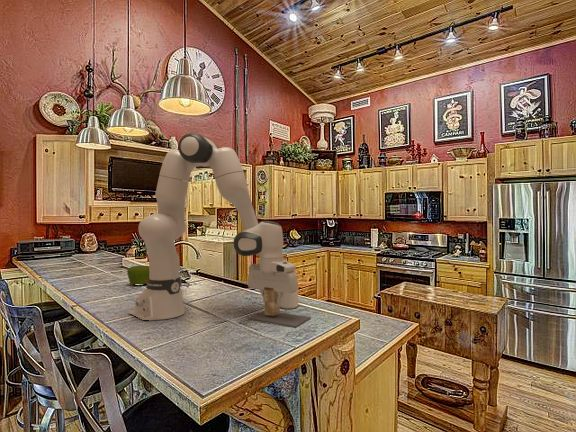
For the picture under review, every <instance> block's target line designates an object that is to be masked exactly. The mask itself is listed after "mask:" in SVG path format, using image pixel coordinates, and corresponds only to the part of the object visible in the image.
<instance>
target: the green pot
mask: <svg viewBox="0 0 576 432" xmlns="http://www.w3.org/2000/svg"><path fill="white" fill-rule="evenodd" d="M126 274H127V277H128V282H129V284H131V285H133V284H147V283H145V282H148V281H145V280H148V279H149V265H134V266H130V267H129V268H128V269H127V272H126Z"/></svg>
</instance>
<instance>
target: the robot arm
mask: <svg viewBox="0 0 576 432" xmlns="http://www.w3.org/2000/svg"><path fill="white" fill-rule="evenodd" d="M177 145H178V146H177V149H173V150H172V149H171V150H169V151H168V152H167V153H166V155H165V156H164V158H163V161H162V165H161V168H160V171H159V176H158V180H157V184H156V190H155V198H156V202H157V203H156V204H157V212H156V213H152V214H150V215H148V216H146V217H144V218H142V219H141V220H140V222H139V224H138V235H139V236H140V238H141V239H142V241H143V242H144V245H145V248H146V252H147V256H148V257H147V258H148V266H149V279H148V280H145V281H148V282H145V283H147V285H146V286H145V289H144V290H143V291H142V292H141V293H140V294H139V295H138V296H136V298H135V300H134V301H135V302H134V308H132V309H130V310H129V311H127V314H128V313H130V314H132V315H135V316H136V317H138V318H137V319H139V318H140V319H139V320H141V319H142V321H143V320H149V321H155V320H156V321H157V320H160V321H161V320H167V319H168V320H169V319H172V318H173V319H174V318H177V317H180V316H182V315H184V314H185V313H186V306H185V305H184V297H183V295H184V294H183V289H182V288H181V286H182V277H181V276H180V275H181V272H180V271H181V270H180V269H181V267H180V255H179V254H178V252H177V249H176V244H175V241H176V240H178V239H179V238H181V237H182V236H183V235H184V234H185V232H186V230H187V229H186V228H187V224H186V222H185V216H186V215H185V213H186V211H185V207H186V206H185V205H186V197H187V192H188V187H189V184H190V178H191V174H192V171H194V169H197V170H198V169H199V170H200V169H209V168H211V171H212V173H213V177H214V182H215V184H216V187H217V189H218V192H219V194H220V195H221V197H222V198H223V199H224V200H226V201H227V202H229V203H230V204H231V205H232V206H233V207H234V208H235V209H236V210H237V213H238V215H239V218H240V221H241V224H242V227H243V231H240V232H238V233H237V234H236V235H235V237H234V238H233V242H232V243H233V248H234V251H235V252H236V254H237V255H239V256H243V257H250V256H255V255H258V256H259V258H258V259H259V260H258V261H259V263H252V264H250V265H249V266H248V276H247V287H248V288H249V289H253V290H260V291H259V293H260V295H261V297H262V302H264V303H265V301H264V287H268V288H274V291H276V292H277V294H278V295H279V296H278V298H276V299H275V303H276V304H280V303H281V298H282V296H283V294H284V293H294V292H296V291H297V289H298V290H299V281H297V280H298V275H297V272H296V267H297V266H296V264H294V263H292V262H289V261H288V260H286V259H284V254H283V248H284V233H283V228H282V225H281V224H280V223H278V222H277V221H271V220H262V221H260V222H259V220H258V216H257V213H256V211H255V208H254V204H253V203H252V199H251V195H250V192H249V188H248V184H247V180H246V175H245V173H244V168H243V165H242V163H241V161H240V158H239V156H238V154H237V152H236V151H235V150H234V149H233V148H232V147H228V146H224V147H219V146H218V145H217V144H216V143H215V142H213V140H211V139H209V138H207V137H205V136H203V135H202V134H198V133H195V132H193V133H192V132H191V133H186V134H184V135H183V136H182V137H181V138H180V140H179V141H178V144H177ZM130 314H129V315H130ZM132 315H131V316H132ZM136 317H135V318H136Z"/></svg>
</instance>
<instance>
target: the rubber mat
mask: <svg viewBox="0 0 576 432" xmlns="http://www.w3.org/2000/svg"><path fill="white" fill-rule="evenodd" d="M247 320H250V321H251V320H252V321H255V322H261V323H268V324H272V325H278V326H283V327H289V328H294V329H296V328H298V327H301V326H302V325H303V324H305V323H306V322H308V321H309V320H311V317H310V316H307V315H306V316H305V315H300V314H299V315H298V314H293V313H285V312H281V311H280V313H279V314H277V315H275V316H271V315H265V309H264V310H262V311H259V312H257V313H256V314H253V315H251V316H249V317H247Z"/></svg>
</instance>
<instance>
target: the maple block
mask: <svg viewBox="0 0 576 432" xmlns="http://www.w3.org/2000/svg"><path fill="white" fill-rule="evenodd" d="M278 296H279V295H278V294H277V292H276V291H274V288H268V287H264V301H265V302H264V310H265V315H271V316H275V315H277V314H279V313H280V312H281V309H280V308H281V307H280V304H276V303H275V299H276V298H278Z"/></svg>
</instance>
